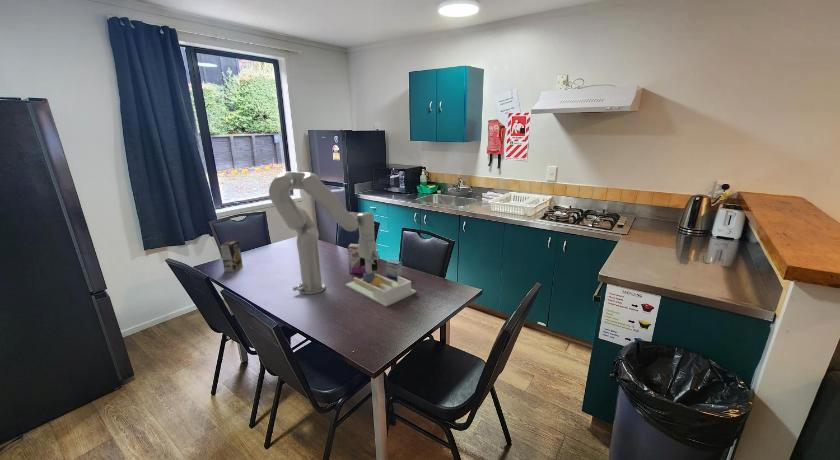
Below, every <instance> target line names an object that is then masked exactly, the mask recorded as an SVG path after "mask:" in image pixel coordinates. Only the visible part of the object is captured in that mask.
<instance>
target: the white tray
mask: <svg viewBox="0 0 840 460" xmlns="http://www.w3.org/2000/svg"><path fill="white" fill-rule="evenodd" d="M374 273H375V278H376V277H377V278H380V279H381V284H380V285H379V286H374V285H373V283H372V281H371V282H369V283H366V282H364V281H363V277H361V278H359V277H356V276H355V277H353V281H351V282H347V283H345V287H347V288H349V289H350V290H352V291H355V292H356V293H359V294H360V295H362V296H364V297H366V298H368V299H370V300H372V301H374V302H376V303H378V304H380V305H381V306H384V307H385V308H387V307H389V306H392V304H396V303H397V302H399V301H401V300H403V299H406V298H408V297H410V296H413V295H414V294H417V290H415V289H413V288H412V281H411V280H410V279H407V278H405V277H403V276H401V277H400V276H398V277H397V278H396V279H397V281H395V280H392V279H390V278H389V277H385V276H383V275H381V274H379V273H377V272H374Z"/></svg>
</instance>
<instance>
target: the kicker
mask: <svg viewBox="0 0 840 460" xmlns="http://www.w3.org/2000/svg"><path fill="white" fill-rule="evenodd" d="M365 270H366V273H363V274H362V278H363V281H364V282H366V283H369V282H371V281H373V279H374V278H375V273H376V272H375V271H372V261H371V260H367V259H365Z"/></svg>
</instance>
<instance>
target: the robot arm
mask: <svg viewBox="0 0 840 460" xmlns="http://www.w3.org/2000/svg"><path fill="white" fill-rule="evenodd" d="M291 190H303V191H304V192H305V193H306V194H307V195H308V196H310V197H311V198H312V199H313V200H314V201H315V202H316V203H318V205H319V206H320V207H322V208H323V209H324V211H325V212H326V213H327V214H329V216H330V217H331V218H332V219H333V220H334V221H335V222H336V223H337V224H338V225H339V226H340V227H341V228H343V229H344V230H345V231H347V232H355V231H357V229H358V231H359V232H358V233H359V238H358V243H357V244H358V249H357V251H358V255H359V259H360V266H364V265H365V259H367V260H371V266H372V271H374V272H375V271H377V270H378V264H379V261H380V255H379V254H378V251H377V250H378V249H377V244H376V240H375V239H376V237H375V222H374V214H373V212H370V211H365V212H355V211H348V210H347V208H345V206H344V205H343V204H342V203H341V200H339V198H338V196H337V195H336V194H335V193H334V192H333V191H332V190H331V189H330V188H329V187H328V186H327V185H326V184H324V183H323V182H322V181H321V179H320V177H319V175H317V174H316V173H313V172H305V171H304V172H303V171H302V172H301V171H300V172H299V171H283V172H281V173H279V174H278V175H277V176H275V177H274V178H273V179H272V181H271V182H270V185H269V188H268V195H269V199H270V200H271V203H272V204H273V206H274V207H275V209H276V210H277V212H278V214H279V216H280V217H281V218H282V220H283V222H284V224H286V226H287V227H288V229H290V230H292V231H296V233H297V234H298V235H297V238H296V247H297V251H298V252H297V253H298V258H299V259H298V260H299V267H300V268H299V269H300V276H301V277H300V278H301V281H299V284H298V285H296V286H292V290H293V292H296V291H298V292H299V293H300V294H303V295H316V294H319V293H321V292H323V291H325V289H326V285H325V283H324V282H322V274H321V272H322V271H321V262H320V261H321V260H320V251H319V242H318V241H319V236H320V235H319V230H318V228H317V226H316V224H315V223H314V221H313V220H312V218H311V217H310V215H309V213H308V212H307V211H306V210H305V209H304V208H302V207H299V206H297V204H296V202H295V200H293V198H292V197H291V196H290V192H291Z"/></svg>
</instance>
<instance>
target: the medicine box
mask: <svg viewBox="0 0 840 460" xmlns="http://www.w3.org/2000/svg"><path fill="white" fill-rule="evenodd" d="M385 264H386V265H385V266H386V268H385V272H386V276H387V278H393V279H397V277H398V276H400V277H403V262H402V261H400V260H394V259H388V260H387V261H385Z"/></svg>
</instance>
